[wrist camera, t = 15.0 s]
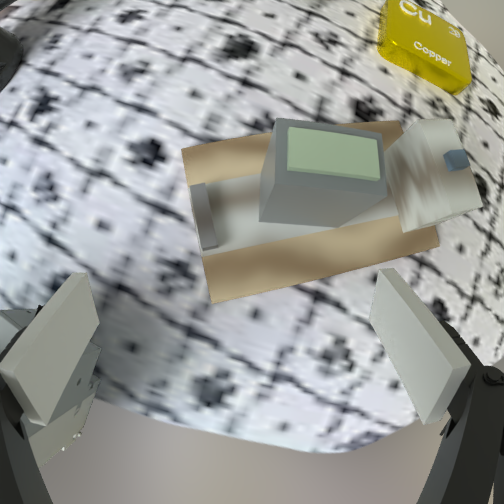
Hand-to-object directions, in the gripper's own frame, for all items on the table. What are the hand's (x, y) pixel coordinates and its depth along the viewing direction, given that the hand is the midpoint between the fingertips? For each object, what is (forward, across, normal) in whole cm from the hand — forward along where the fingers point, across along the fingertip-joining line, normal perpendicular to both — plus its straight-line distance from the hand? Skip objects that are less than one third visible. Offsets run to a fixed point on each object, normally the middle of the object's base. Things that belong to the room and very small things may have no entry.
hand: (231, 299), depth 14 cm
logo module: (+19, +6, -1) cm, 20 cm away
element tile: (+36, +29, +21) cm, 51 cm away
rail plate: (+21, +9, -1) cm, 22 cm away
